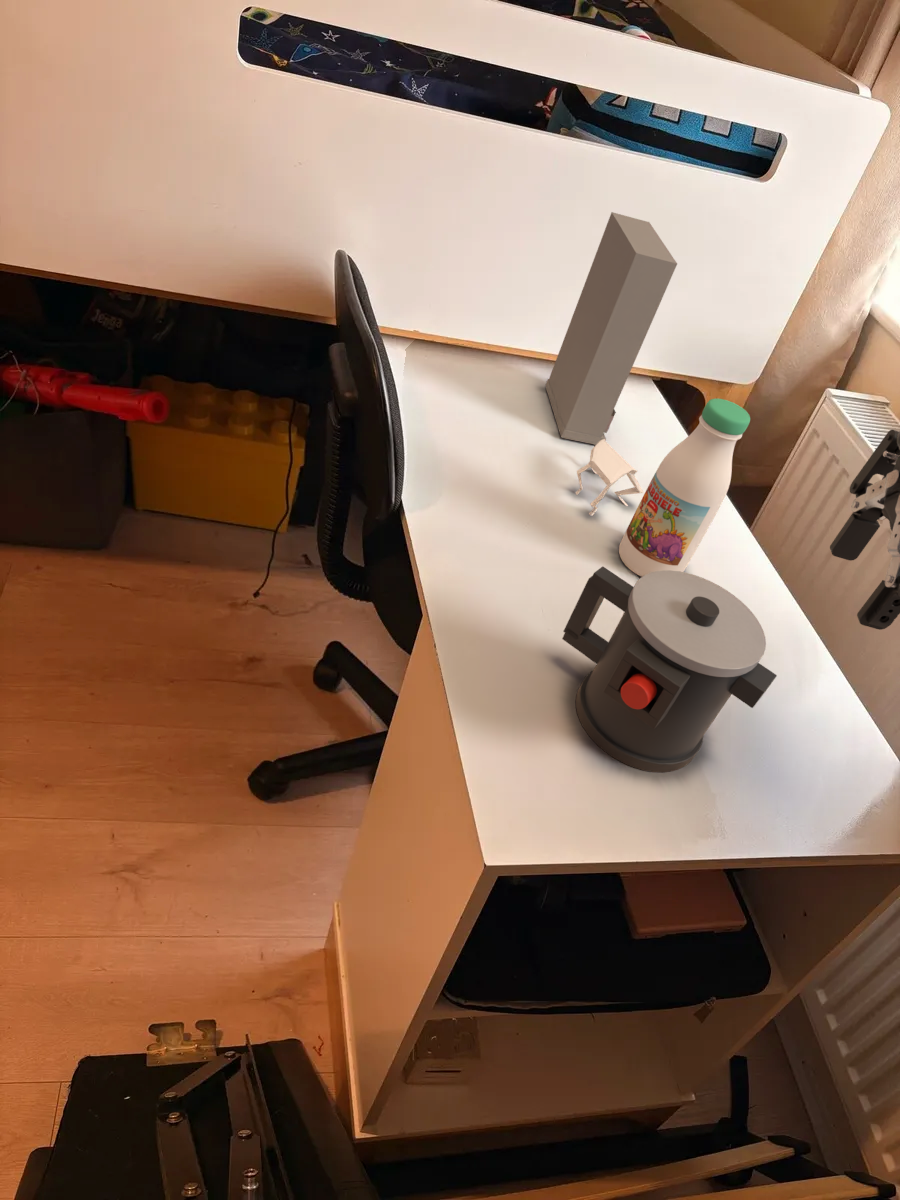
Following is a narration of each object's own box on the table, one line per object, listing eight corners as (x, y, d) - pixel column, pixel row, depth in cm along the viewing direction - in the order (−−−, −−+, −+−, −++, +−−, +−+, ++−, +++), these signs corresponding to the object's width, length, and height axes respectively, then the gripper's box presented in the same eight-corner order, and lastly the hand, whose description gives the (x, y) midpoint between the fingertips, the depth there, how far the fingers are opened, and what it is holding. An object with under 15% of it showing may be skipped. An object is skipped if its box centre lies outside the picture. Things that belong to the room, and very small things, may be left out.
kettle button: (640, 715, 70) (653, 695, 69) (615, 697, 71) (627, 676, 70) (649, 705, 72) (662, 685, 70) (625, 687, 72) (636, 667, 71)
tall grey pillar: (603, 448, 119) (684, 266, 103) (560, 439, 117) (635, 253, 102) (584, 396, 129) (655, 223, 113) (544, 387, 128) (610, 211, 112)
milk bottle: (644, 534, 106) (721, 384, 93) (694, 574, 102) (781, 424, 89) (603, 549, 101) (678, 393, 88) (653, 592, 97) (739, 436, 85)
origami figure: (644, 523, 107) (661, 490, 104) (582, 518, 105) (597, 484, 101) (610, 466, 116) (624, 433, 113) (551, 459, 113) (564, 426, 110)
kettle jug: (672, 817, 74) (754, 703, 65) (510, 693, 80) (565, 573, 71) (732, 738, 83) (811, 629, 74) (583, 632, 89) (640, 519, 80)
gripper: (1088, 479, 54) (927, 663, 64) (998, 375, 65) (873, 547, 75) (975, 444, 53) (831, 636, 64) (904, 345, 64) (790, 523, 74)
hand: (854, 588), depth 69 cm, fingers open, 8 cm apart
